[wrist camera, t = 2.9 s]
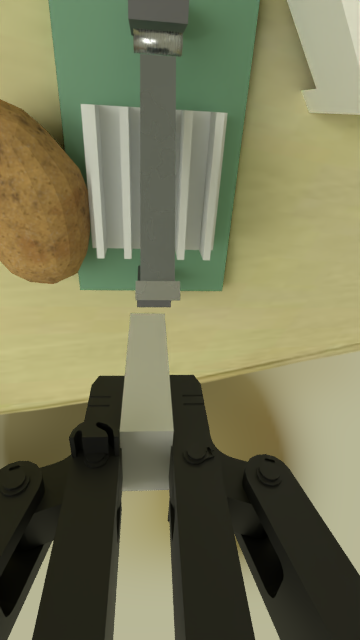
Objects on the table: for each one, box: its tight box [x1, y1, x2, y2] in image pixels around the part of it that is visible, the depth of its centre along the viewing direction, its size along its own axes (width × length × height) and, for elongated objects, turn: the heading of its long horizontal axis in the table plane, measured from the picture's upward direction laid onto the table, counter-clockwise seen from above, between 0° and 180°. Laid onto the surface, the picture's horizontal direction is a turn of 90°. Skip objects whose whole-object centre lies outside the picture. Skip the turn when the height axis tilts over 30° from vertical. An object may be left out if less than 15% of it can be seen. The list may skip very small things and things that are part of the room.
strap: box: [133, 28, 183, 300], centre depth 22 cm, size 17×3×1 cm, turn 177°
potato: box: [0, 99, 90, 284], centre depth 28 cm, size 10×14×8 cm
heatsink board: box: [49, 0, 260, 307], centre depth 28 cm, size 24×15×8 cm, turn 177°
